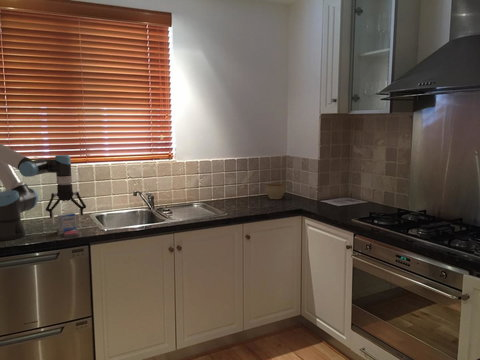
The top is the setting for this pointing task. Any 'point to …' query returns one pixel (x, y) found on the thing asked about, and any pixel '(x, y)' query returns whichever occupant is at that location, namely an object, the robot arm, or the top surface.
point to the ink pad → (71, 233)
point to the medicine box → (66, 222)
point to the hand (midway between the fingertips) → (67, 222)
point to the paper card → (65, 231)
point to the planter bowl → (275, 190)
